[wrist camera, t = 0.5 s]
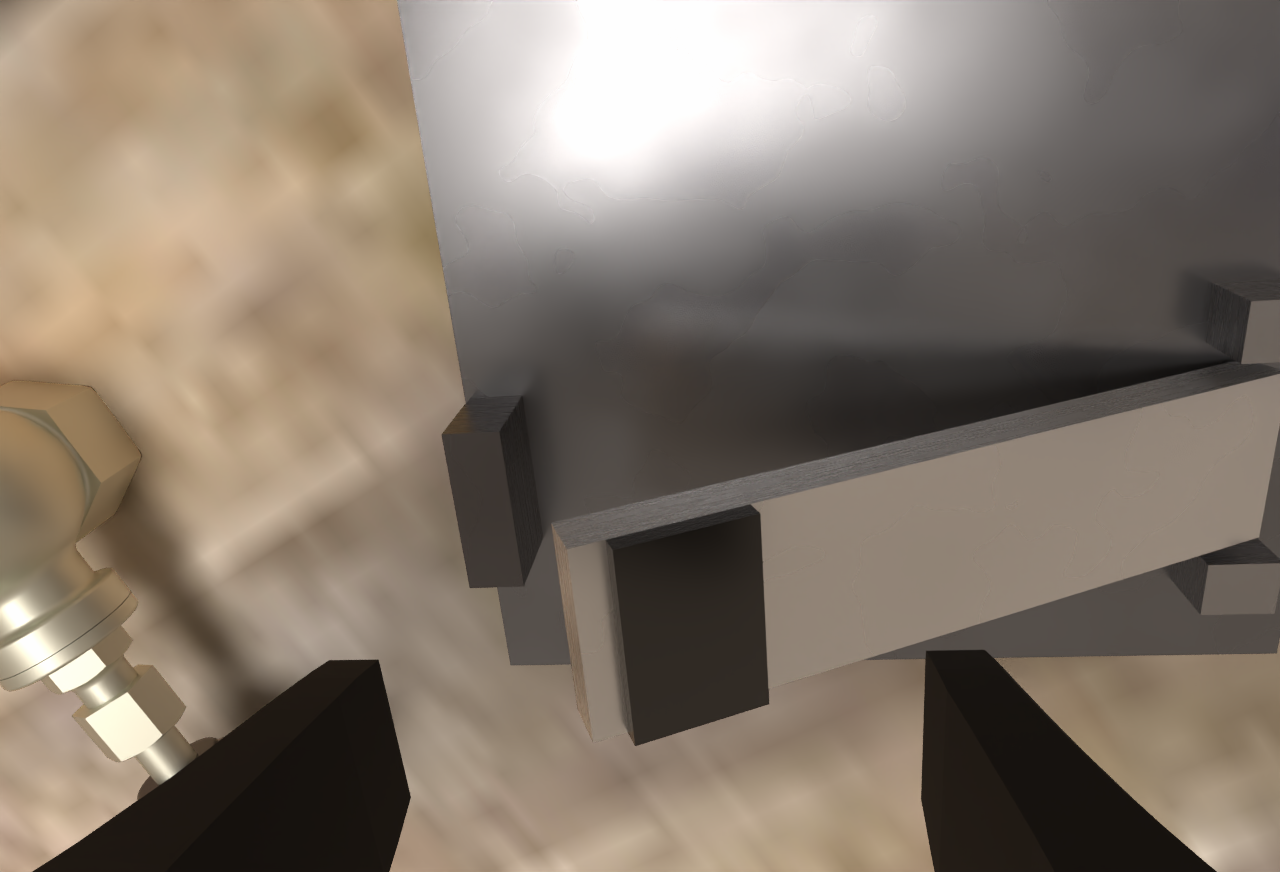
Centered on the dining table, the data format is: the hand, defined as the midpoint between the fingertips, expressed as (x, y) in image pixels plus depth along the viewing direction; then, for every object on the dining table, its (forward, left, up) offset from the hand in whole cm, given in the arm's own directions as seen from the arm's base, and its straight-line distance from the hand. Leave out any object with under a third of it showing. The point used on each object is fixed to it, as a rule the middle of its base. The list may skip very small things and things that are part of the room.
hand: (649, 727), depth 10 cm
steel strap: (-4, 0, -5) cm, 6 cm away
